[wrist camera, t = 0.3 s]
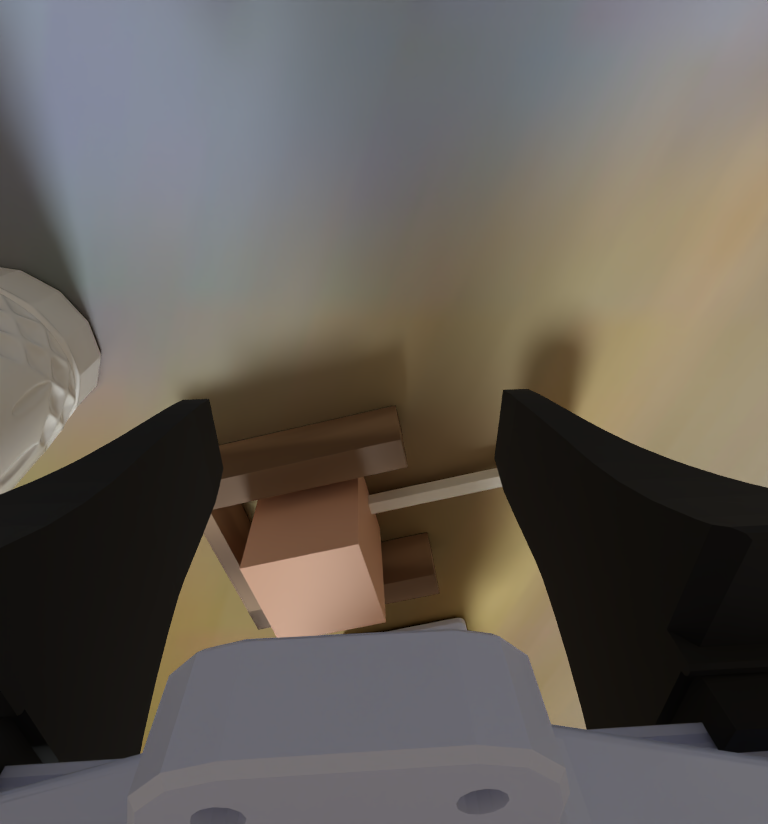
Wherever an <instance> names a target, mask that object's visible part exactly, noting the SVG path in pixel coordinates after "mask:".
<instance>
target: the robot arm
mask: <svg viewBox="0 0 768 824" xmlns="http://www.w3.org/2000/svg"><path fill="white" fill-rule="evenodd" d="M495 462H496V466H497V470H498V473H499V477H500V480H501V484H502V487H503V490H504V493H505V495H506V497H507V500H508V502H509V504H510V506H511V508H512V511H513V513H514V515H515V517H516V520H517V522H518V524H519V526H520V528H521V530H522V533H523V535H524V537H525V539H526V541H527V543H528V546H529V548H530V550H531V552H532V554H533V556H534V559H535V561H536V563H537V566H538V568H539V571H540V573H541V576H542V578H543V581H544V584H545V587H546V590H547V593H548V596H549V599H550V602H551V605H552V608H553V611H554V614H555V617H556V621H557V624H558V627H559V631H560V634H561V637H562V641H563V644H564V647H565V651H566V654H567V657H568V661H569V664H570V668H571V672H572V675H573V679H574V683H575V686H576V690H577V694H578V697H579V701H580V704H581V708H582V712H583V716H584V720H585V724H586V728H587V730H584V729H578V728H571V727H565V726H558V725H551V723H550V720H549V717H548V714H547V711H546V708H545V705H544V702H543V699H542V696H541V693H540V690H539V687H538V684H537V682H536V679H535V676H534V673H533V670H532V667H531V664H530V661H529V658H528V656H527V655H526V654H524V653H523V652H522V651H520V650H519V649H517V648H516V647H514V646H513V645H511V644H510V643H508V642H507V641H505V640H504V639H502V638H501V637H499V636H497V635H494V634H491V633H483V632H475V631H467V628H466V624H465V621H464V619H462V618H453V619H448V620H443V621H438V622H433V623H428V624H422V625H417V626H412V627H407V628H402V629H397V630H392V631H387V632H375V633H356V634H337V635H318V636H299V637H280V638H261V639H246V640H242V641H237V642H233V643H229V644H224V645H220V646H216V647H211V648H207V649H204V650H202V651H199V652H197V653H196V654H195V655H194V656H192V657H191V658H190V659H189V660H187V661H186V662H185V663H184V664H183V665H181V666H180V667H179V668H178V669H177V670H175V671H174V672H173V673H172V674H171V675H169V678H168V681H167V684H166V687H165V690H164V692H163V695H162V698H161V701H160V704H159V707H158V710H157V713H156V716H155V718H154V721H153V724H152V727H151V730H150V733H149V736H148V739H147V741H146V744H145V747H144V750H143V753H142V754H140V751H141V746H142V741H143V736H144V731H145V727H146V722H147V718H148V713H149V709H150V705H151V700H152V696H153V691H154V687H155V682H156V678H157V674H158V670H159V666H160V663H161V659H162V655H163V651H164V647H165V643H166V639H167V635H168V632H169V628H170V624H171V621H172V617H173V614H174V610H175V607H176V603H177V600H178V596H179V593H180V591H181V588H182V585H183V582H184V579H185V577H186V574H187V572H188V569H189V567H190V565H191V562H192V560H193V557H194V555H195V552H196V550H197V548H198V545H199V543H200V540H201V538H202V535H203V533H204V530H205V528H206V525H207V523H208V520H209V518H210V515H211V513H212V510H213V508H214V505H215V503H216V499H217V495H218V491H219V487H220V482H221V478H222V473H223V469H224V468H223V463H222V459H221V454H220V449H219V444H218V440H217V435H216V430H215V425H214V421H213V416H212V411H211V406H210V402H209V399H196V400H182V401H180V402H178V403H176V404H174V405H172V406H170V407H168V408H167V409H165V410H163V411H161V412H160V413H158V414H156V415H155V416H153V417H152V418H150V419H148V420H147V421H145V422H143V423H142V424H140V425H139V426H137V427H135V428H134V429H132V430H130V431H129V432H127V433H125V434H124V435H122V436H120V437H119V438H117V439H115V440H113V441H112V442H110V443H108V444H106V445H105V446H103V447H101V448H99V449H97V450H96V451H94V452H92V453H90V454H88V455H87V456H85V457H83V458H81V459H79V460H77V461H75V462H73V463H71V464H69V465H67V466H65V467H63V468H61V469H59V470H57V471H55V472H53V473H50V474H48V475H46V476H44V477H42V478H39V479H37V480H35V481H33V482H30V483H28V484H26V485H23V486H20V487H18V488H15V489H13V490H10V491H8V492H5V493H2V494H0V824H768V488H766V487H762V486H758V485H754V484H749V483H745V482H742V481H738V480H734V479H731V478H727V477H724V476H720V475H717V474H714V473H711V472H707V471H704V470H701V469H698V468H695V467H692V466H688V465H686V464H683V463H680V462H677V461H674V460H671V459H669V458H666V457H664V456H661V455H659V454H656V453H654V452H651V451H649V450H646V449H644V448H641V447H639V446H637V445H634V444H632V443H630V442H628V441H626V440H623V439H621V438H619V437H617V436H615V435H613V434H611V433H609V432H607V431H605V430H603V429H601V428H599V427H597V426H595V425H594V424H592V423H590V422H588V421H586V420H584V419H582V418H581V417H579V416H577V415H575V414H573V413H572V412H570V411H568V410H566V409H565V408H563V407H561V406H559V405H558V404H556V403H554V402H552V401H551V400H549V399H547V398H545V397H543V396H541V395H540V394H538V393H535V392H533V391H531V390H529V389H516V390H503V395H502V403H501V411H500V419H499V427H498V434H497V442H496V450H495Z"/></svg>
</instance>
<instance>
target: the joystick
mask: <svg viewBox="0 0 768 824" xmlns="http://www.w3.org/2000/svg"><path fill="white" fill-rule="evenodd" d="M499 487H502V484H501V480H500V477H499V473H498V470H497V468H494V469H489V470H484V471H480V472H475V473H470V474H466V475H461V476H456V477H452V478H447V479H442V480H437V481H433V482H428V483H423V484H419V485H414V486H409V487H405V488H400V489H395V490H391V491H386V492H381V493H377V494H372V495H369V492H368V489H367V485H366V482H365V479H364V477H360V478H355V479H351V480H346V481H342V482H337V483H332V484H328V485H323V486H319V487H314V488H310V489H305V490H300V491H296V492H291V493H287V494H282V495H277V496H273V497H268V498H264V499H259V500H258V502H257V506H256V509H255V513H254V517H253V520H252V524H251V528H250V532H249V535H248V539H247V543H246V547H245V550H244V554H243V558H242V561H241V565H240V571H241V572H242V574H243V576H244V578H245V580H246V582H247V583H248V585H249V587H250V589H251V591H252V593H253V594H254V596H255V598H256V600H257V602H258V604H259V605H260V607H261V609H262V611H263V613H264V615H265V616H266V618H267V620H268V622H269V624H270V626H271V627H272V629H273V631H274V633H275V635H276V637H277V638H280V637H299V636H318V635H323V634H328V633H333V632H338V631H343V630H349V629H354V628H359V627H364V626H369V625H374V624H379V623H384V622H386V613H385V598H384V582H383V566H382V551H381V535H380V527H379V524H378V520H377V517H376V514H375V513H380V512H385V511H390V510H394V509H399V508H404V507H408V506H413V505H418V504H423V503H427V502H432V501H437V500H442V499H446V498H451V497H456V496H461V495H465V494H470V493H475V492H480V491H484V490H489V489H494V488H499Z"/></svg>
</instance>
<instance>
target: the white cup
mask: <svg viewBox="0 0 768 824" xmlns="http://www.w3.org/2000/svg"><path fill="white" fill-rule="evenodd" d="M100 361H101V353H100V351H99V348H98V345H97V343H96V340H95V338H94V335H93V332H92V330H91V327H90V324H89V322H88V321H87V320H86V319H85V318H84V317H83V316H82V314H81V313H80V312H79V311H78V310H77V309H76V308H75V307H74V306H73V305H72V304H71V303H70V302H69V300H68V299H67V298H66V297H65V296H64V295H63V294H62V293H61V292H60V291H58V290H57V289H55V288H53V287H51V286H49V285H47V284H46V283H44V282H42V281H40V280H38V279H36V278H34V277H32V276H31V275H29V274H27V273H25V272H23V271H21V270H16V269H9V268H2V267H0V494H2V493H5V492H8V491H10V490H12V489H13V488H14V487H15V486H16V485H17V483H18V482H19V481H20V480H21V479H22V478H23V477H24V475H25V474H26V473H27V472H28V471H29V470H30V469H31V467H32V466H33V465H34V464H35V463H36V462H37V460H38V459H39V458H40V457H41V456H42V455H43V454H44V453H45V452H46V450H47V449H48V447H49V446H50V445H51V443H52V442H53V441H54V439H55V438H56V437H57V435H58V434H59V433H60V432H61V431H62V430H63V429H64V426H65V424H66V422H67V420H68V419H69V417H70V416H71V415H72V413H73V412H74V411H75V409H76V408H77V407H78V406H79V405H80V404H81V403H82V401H83V400H84V399H85V398H86V397H87V396H88V395H89V394H90V393H91V392H92V390H93V389H94V388H95V387H96V386H97V383H98V376H99V368H100Z"/></svg>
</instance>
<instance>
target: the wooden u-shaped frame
mask: <svg viewBox="0 0 768 824" xmlns="http://www.w3.org/2000/svg"><path fill="white" fill-rule="evenodd" d="M219 449H220V454H221V459H222V463H223V468H224V469H223V473H222V478H221V482H220V487H219V491H218V495H217V499H216V503H215V505H214V508H213V510H212V513H211V515H210V518H209V520H208V523H207V525H206V528H205V530H204V535H205V537H206V538H207V540H208V542H209V544H210V545H211V547H212V549H213V551H214V552H215V554H216V556H217V558H218V560H219V561H220V563H221V565H222V567H223V568H224V570H225V572H226V574H227V575H228V577H229V579H230V581H231V582H232V584H233V586H234V588H235V589H236V591H237V593H238V595H239V596H240V598H241V600H242V602H243V603H244V605H245V607H246V609H247V610H248V612H249V614H250V616H251V617H252V619H253V621H254V623H255V625H256V626H257V628H258V630H259V629H264V628H269V627H271V626H270V624H269V622H268V620H267V618H266V616H265V615H264V613H263V611H262V609H261V607H260V605H259V604H258V602H257V600H256V598H255V596H254V594H253V593H252V591H251V589H250V587H249V585H248V583H247V582H246V580H245V578H244V576H243V574H242V572H241V571H240V565H241V561H242V558H243V554H244V550H245V547H246V543H247V539H248V535H249V532H250V528H251V523H250V521H249V519H248V517H247V515H246V513H245V511H244V509H243V506H242V504H241V503H245V502H250V501H254V500H259V499H264V498H268V497H273V496H277V495H282V494H287V493H291V492H296V491H300V490H305V489H310V488H314V487H319V486H323V485H328V484H332V483H337V482H342V481H346V480H351V479H355V478H360V477H365V476H369V475H374V474H378V473H383V472H388V471H392V470H397V469H401V468H406V467H408V466H407V460H406V454H405V448H404V442H403V436H402V430H401V426H400V422H399V418H398V414H397V410H396V406H391V407H386V408H382V409H377V410H373V411H369V412H364V413H360V414H355V415H351V416H347V417H342V418H338V419H333V420H329V421H325V422H320V423H316V424H311V425H307V426H302V427H298V428H294V429H289V430H285V431H280V432H276V433H272V434H267V435H263V436H258V437H254V438H250V439H245V440H241V441H236V442H232V443H228V444H223V445H219ZM381 551H382V566H383V582H384V598H385V604H389V603H394V602H399V601H404V600H409V599H414V598H419V597H424V596H429V595H434V594H439V587H438V582H437V577H436V572H435V566H434V561H433V556H432V551H431V547H430V542H429V538H428V534H427V533H423V534H418V535H413V536H408V537H404V538H399V539H394V540H389V541H384V542H381Z"/></svg>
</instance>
